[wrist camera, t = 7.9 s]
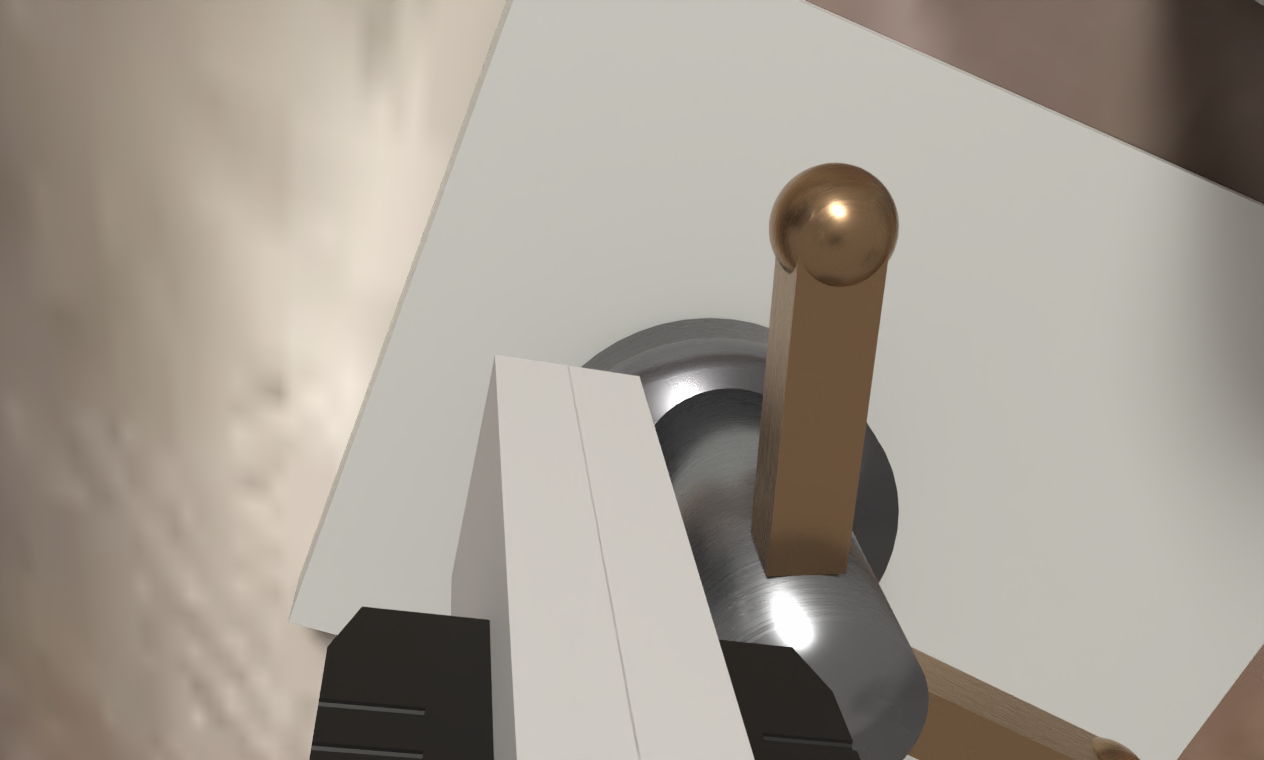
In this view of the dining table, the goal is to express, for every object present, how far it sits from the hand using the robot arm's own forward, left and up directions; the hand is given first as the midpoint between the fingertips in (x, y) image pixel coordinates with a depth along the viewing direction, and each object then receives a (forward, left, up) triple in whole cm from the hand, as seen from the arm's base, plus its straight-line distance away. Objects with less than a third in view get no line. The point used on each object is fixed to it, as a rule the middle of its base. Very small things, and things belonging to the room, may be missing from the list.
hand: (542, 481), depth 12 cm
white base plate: (+13, -5, -18) cm, 23 cm away
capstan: (+7, -4, -16) cm, 18 cm away
